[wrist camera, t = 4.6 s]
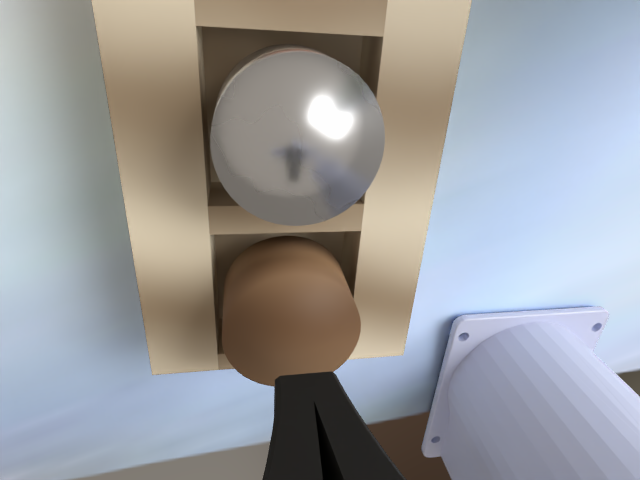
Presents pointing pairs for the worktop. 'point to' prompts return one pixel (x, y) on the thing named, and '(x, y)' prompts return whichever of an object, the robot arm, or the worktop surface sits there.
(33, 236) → the worktop surface
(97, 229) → the worktop surface
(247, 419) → the worktop surface
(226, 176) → the steel button
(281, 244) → the walnut button
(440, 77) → the light wooden flat frame
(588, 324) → the robot arm
